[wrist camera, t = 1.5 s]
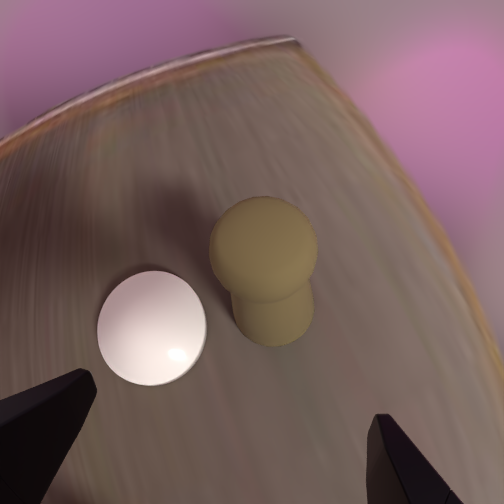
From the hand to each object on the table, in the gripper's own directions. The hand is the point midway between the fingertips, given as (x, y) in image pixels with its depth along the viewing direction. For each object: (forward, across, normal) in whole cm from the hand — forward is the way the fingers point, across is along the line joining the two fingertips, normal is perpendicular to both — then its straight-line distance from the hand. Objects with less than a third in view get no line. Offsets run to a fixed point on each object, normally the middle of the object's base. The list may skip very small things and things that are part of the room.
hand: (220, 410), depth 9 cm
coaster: (+13, +9, +6) cm, 17 cm away
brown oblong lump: (+15, 0, +4) cm, 16 cm away
